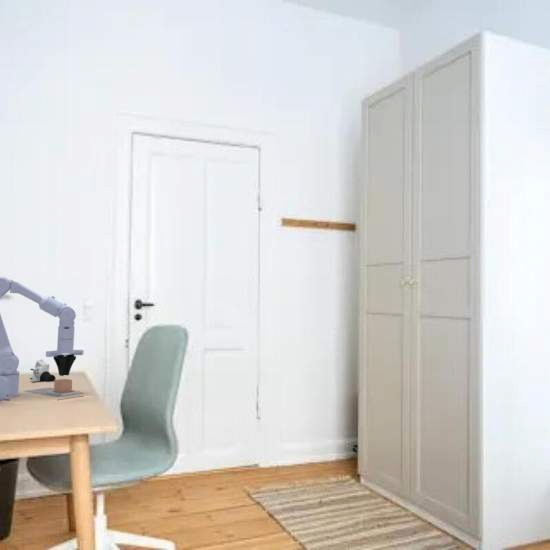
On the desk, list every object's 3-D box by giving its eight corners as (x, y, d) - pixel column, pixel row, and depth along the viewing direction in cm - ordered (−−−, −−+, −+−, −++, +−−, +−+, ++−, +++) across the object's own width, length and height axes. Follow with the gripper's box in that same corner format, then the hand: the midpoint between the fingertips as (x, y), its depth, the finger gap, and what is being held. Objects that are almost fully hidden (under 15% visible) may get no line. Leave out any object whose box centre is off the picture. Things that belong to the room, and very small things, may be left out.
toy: (38, 362, 253) (59, 357, 245) (37, 389, 250) (58, 384, 242) (26, 361, 248) (46, 355, 240) (24, 388, 245) (44, 383, 237)
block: (71, 393, 211) (72, 380, 212) (60, 394, 208) (61, 381, 208) (64, 392, 214) (65, 378, 214) (53, 393, 211) (54, 379, 211)
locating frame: (79, 393, 212) (80, 391, 212) (61, 396, 205) (61, 393, 205) (64, 390, 217) (65, 388, 217) (45, 393, 209) (45, 391, 209)
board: (84, 396, 214) (84, 392, 214) (57, 400, 203) (57, 396, 203) (49, 390, 224) (49, 387, 224) (22, 394, 213) (22, 390, 214)
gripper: (76, 337, 220) (74, 372, 219) (42, 338, 209) (40, 375, 208) (87, 338, 216) (85, 374, 215) (52, 340, 204) (50, 377, 204)
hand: (63, 375), depth 211 cm, fingers closed
